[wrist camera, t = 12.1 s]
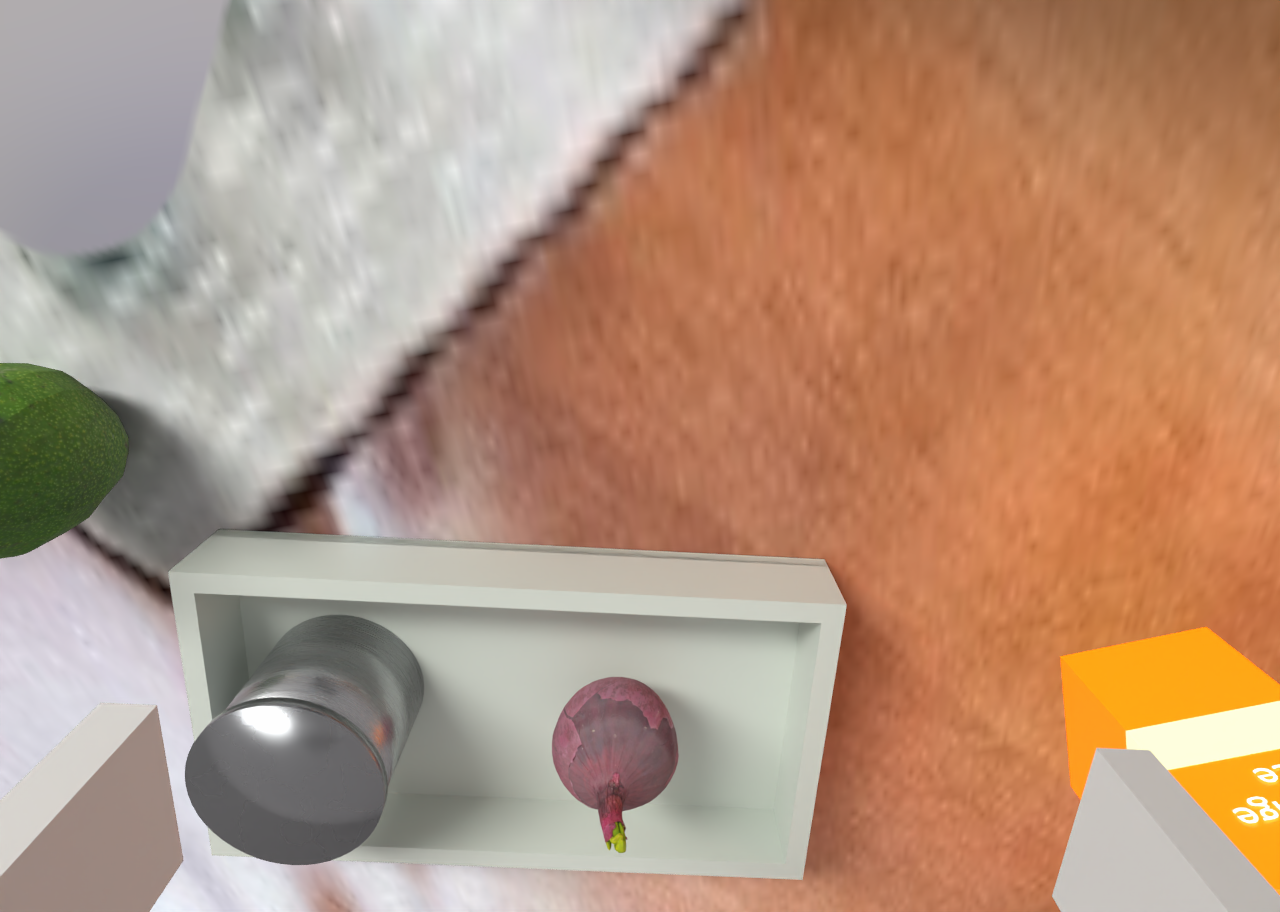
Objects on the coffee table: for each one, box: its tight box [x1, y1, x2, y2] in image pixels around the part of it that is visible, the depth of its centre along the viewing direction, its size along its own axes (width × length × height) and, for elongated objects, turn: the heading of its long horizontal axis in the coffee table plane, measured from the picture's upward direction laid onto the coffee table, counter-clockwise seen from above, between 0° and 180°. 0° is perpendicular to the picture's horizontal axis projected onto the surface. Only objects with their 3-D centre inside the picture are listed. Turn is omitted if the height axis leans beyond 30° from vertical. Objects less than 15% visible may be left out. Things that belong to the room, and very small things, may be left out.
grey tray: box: [168, 529, 847, 880], centre depth 40 cm, size 16×30×4 cm, turn 87°
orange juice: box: [1060, 627, 1280, 895], centre depth 33 cm, size 8×9×20 cm
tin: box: [185, 615, 424, 865], centre depth 38 cm, size 8×8×8 cm
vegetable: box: [552, 677, 679, 853], centre depth 37 cm, size 6×6×10 cm
